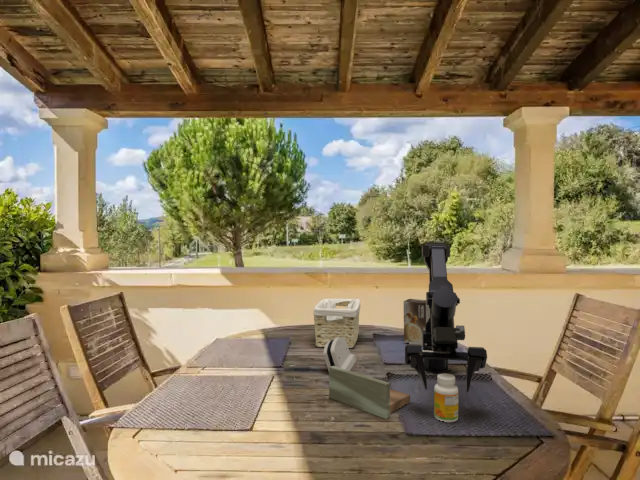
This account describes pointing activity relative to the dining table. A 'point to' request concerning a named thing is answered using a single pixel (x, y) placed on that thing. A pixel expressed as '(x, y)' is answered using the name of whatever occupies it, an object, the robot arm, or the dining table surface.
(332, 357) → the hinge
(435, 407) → the supplement bottle
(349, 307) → the storage basket
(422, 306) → the coffee box
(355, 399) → the wall board ledge
